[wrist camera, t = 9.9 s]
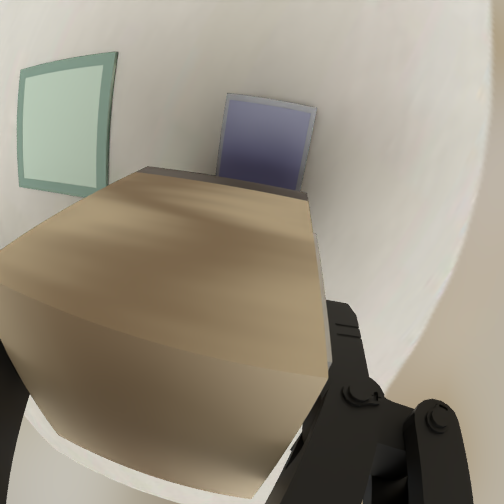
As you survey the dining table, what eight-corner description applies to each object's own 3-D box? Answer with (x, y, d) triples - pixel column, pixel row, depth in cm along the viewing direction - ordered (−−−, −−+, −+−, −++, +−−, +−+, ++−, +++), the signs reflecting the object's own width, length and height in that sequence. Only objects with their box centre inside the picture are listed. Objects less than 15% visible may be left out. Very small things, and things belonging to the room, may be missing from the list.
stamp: (147, 294, 13) (58, 434, 6) (147, 166, 11) (-27, 269, 4) (274, 323, 13) (251, 499, 6) (306, 193, 10) (328, 378, 3)
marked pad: (21, 185, 23) (19, 186, 23) (23, 69, 17) (20, 69, 17) (108, 200, 22) (106, 201, 22) (118, 52, 17) (115, 51, 16)
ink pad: (213, 256, 23) (203, 273, 21) (234, 94, 17) (225, 92, 15) (280, 271, 23) (277, 289, 20) (315, 108, 17) (317, 107, 15)
